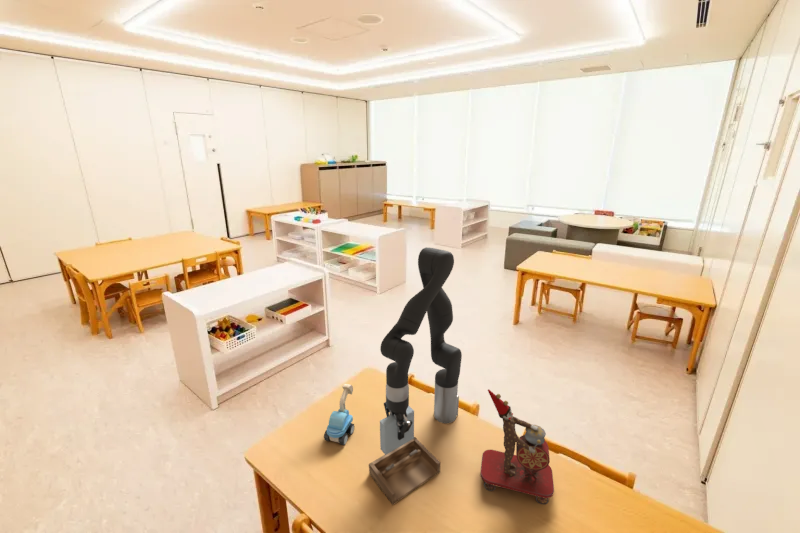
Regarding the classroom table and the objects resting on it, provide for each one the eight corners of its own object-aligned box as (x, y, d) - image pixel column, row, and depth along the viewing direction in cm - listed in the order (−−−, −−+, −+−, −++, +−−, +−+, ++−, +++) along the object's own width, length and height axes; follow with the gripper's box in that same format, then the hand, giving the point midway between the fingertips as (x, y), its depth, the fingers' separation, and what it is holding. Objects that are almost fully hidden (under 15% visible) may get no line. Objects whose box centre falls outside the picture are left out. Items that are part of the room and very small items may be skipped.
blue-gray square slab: (408, 433, 129) (408, 405, 125) (413, 438, 126) (414, 410, 122) (380, 449, 122) (379, 420, 118) (385, 455, 120) (384, 426, 116)
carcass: (414, 446, 135) (414, 435, 134) (439, 472, 125) (440, 461, 123) (369, 473, 124) (368, 462, 123) (392, 505, 114) (392, 493, 112)
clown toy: (552, 509, 112) (569, 419, 100) (478, 490, 118) (486, 403, 107) (549, 474, 124) (564, 389, 112) (482, 458, 130) (489, 376, 119)
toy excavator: (362, 418, 149) (360, 384, 143) (343, 449, 134) (340, 412, 129) (343, 413, 152) (341, 379, 146) (323, 443, 137) (319, 407, 131)
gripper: (419, 400, 114) (419, 443, 120) (394, 378, 125) (394, 418, 131) (400, 410, 110) (400, 454, 116) (376, 386, 121) (377, 427, 126)
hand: (397, 435), depth 123 cm, fingers closed on blue-gray square slab, 3 cm apart
